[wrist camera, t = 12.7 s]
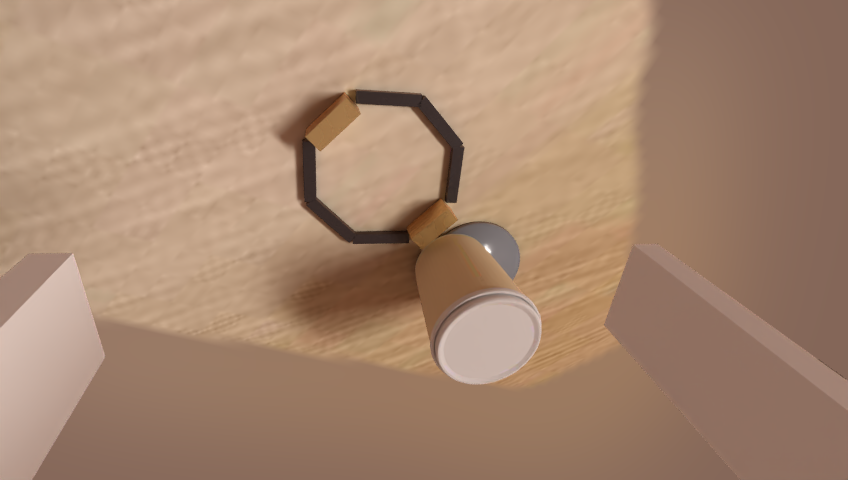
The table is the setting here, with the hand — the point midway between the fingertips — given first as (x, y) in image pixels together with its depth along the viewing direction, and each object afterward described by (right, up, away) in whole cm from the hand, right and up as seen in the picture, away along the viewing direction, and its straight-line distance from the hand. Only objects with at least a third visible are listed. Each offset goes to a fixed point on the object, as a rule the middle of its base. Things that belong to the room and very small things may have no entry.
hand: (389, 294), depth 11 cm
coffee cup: (+4, -1, +34) cm, 35 cm away
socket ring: (-3, +7, +29) cm, 30 cm away
